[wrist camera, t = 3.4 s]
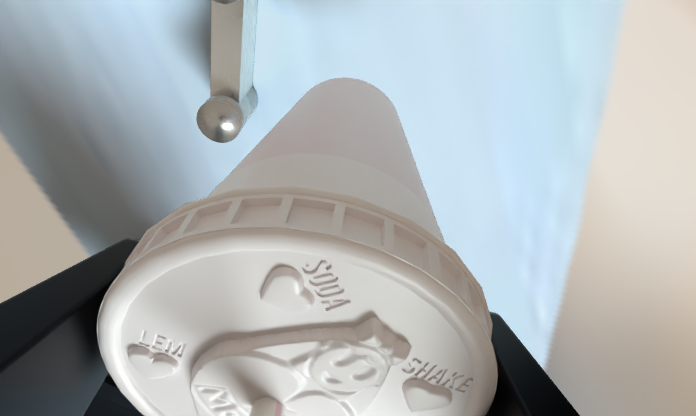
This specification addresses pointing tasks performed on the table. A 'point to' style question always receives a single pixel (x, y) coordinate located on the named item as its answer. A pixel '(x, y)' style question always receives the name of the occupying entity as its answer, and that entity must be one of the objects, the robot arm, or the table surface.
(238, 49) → the steel rail
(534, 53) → the table surface
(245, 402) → the smoothie
